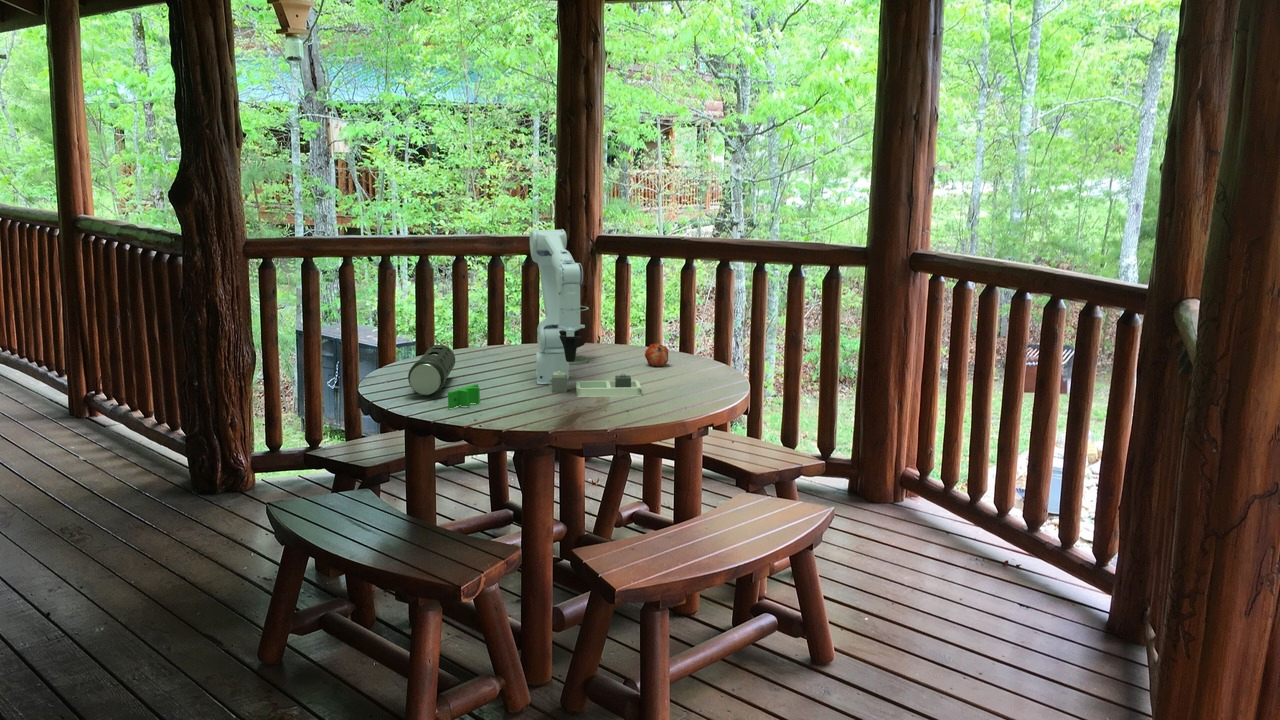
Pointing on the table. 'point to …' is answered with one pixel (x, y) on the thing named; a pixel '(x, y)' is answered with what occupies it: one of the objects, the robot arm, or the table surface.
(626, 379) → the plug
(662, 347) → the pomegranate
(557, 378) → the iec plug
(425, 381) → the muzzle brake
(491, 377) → the table surface
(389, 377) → the table surface
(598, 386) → the pale green compartment tray
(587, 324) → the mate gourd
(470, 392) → the pipe clamp
